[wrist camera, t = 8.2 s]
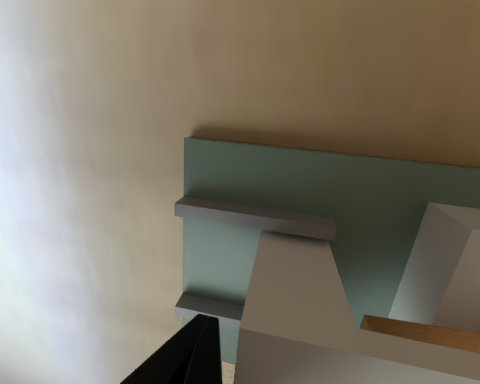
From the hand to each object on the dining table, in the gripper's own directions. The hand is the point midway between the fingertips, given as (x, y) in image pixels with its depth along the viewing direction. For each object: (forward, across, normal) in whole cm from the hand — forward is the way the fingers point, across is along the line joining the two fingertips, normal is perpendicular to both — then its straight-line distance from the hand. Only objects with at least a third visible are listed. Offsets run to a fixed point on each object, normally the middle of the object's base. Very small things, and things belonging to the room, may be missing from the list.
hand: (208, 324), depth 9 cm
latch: (+4, -4, 0) cm, 6 cm away
